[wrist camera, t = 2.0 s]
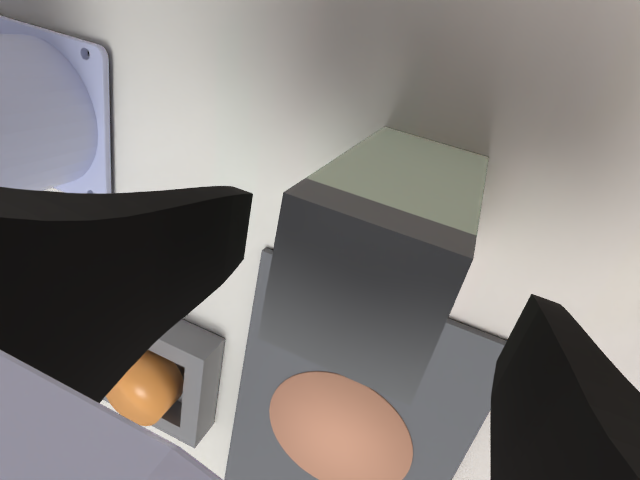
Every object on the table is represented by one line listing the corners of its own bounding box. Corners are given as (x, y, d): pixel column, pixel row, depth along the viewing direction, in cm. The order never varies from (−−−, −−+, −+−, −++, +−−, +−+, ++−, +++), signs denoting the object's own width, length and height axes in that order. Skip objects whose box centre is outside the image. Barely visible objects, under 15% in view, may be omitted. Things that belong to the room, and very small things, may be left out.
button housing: (123, 377, 29) (100, 398, 28) (123, 292, 26) (96, 309, 24) (214, 423, 28) (194, 448, 26) (225, 338, 24) (203, 360, 23)
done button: (127, 383, 27) (102, 406, 25) (127, 334, 25) (100, 354, 24) (182, 411, 26) (159, 437, 25) (186, 362, 24) (162, 386, 23)
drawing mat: (227, 478, 29) (223, 485, 29) (265, 247, 21) (260, 251, 21) (398, 571, 27) (396, 579, 26) (521, 346, 18) (522, 353, 18)
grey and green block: (359, 218, 19) (257, 337, 11) (384, 126, 17) (283, 192, 9) (451, 251, 18) (410, 405, 10) (488, 157, 16) (473, 259, 8)
